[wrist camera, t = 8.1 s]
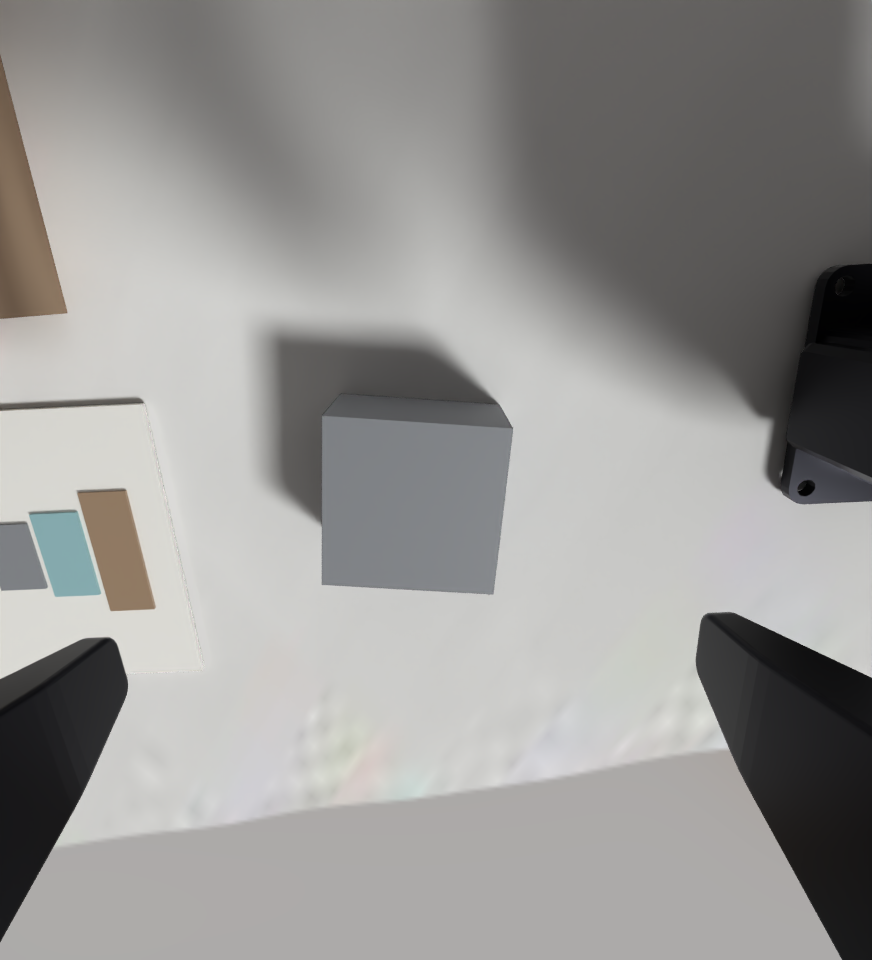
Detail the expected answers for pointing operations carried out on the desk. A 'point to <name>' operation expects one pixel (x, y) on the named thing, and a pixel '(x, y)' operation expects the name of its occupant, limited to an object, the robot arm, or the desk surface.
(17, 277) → the base block
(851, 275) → the robot arm
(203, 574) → the desk surface
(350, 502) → the grey block
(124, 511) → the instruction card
